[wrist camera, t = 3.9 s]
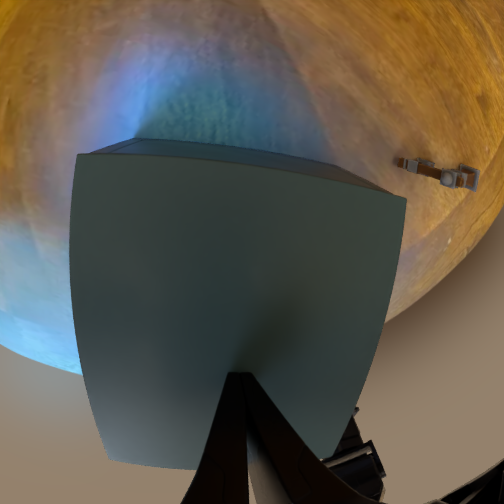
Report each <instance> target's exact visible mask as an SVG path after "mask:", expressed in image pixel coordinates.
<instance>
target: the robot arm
mask: <svg viewBox="0 0 504 504" xmlns="http://www.w3.org/2000/svg"><path fill="white" fill-rule="evenodd" d="M358 411H359V407H356V408H354V411H353V413H352V415H351V418H350V420H349V422H348V424H347V426H346V429H345V431H344V433H343V435H342V437H341V439H340V441H339V443H338V445H337V447H336V449H335V451H334V453H333V455H332V456H331V457H327V458H322V459H323V460H322V461H320V459H319V458H318V457H317V456H316V455H315V454H314V453H313V452H312V450H311V449H310V448H309V447H308V446H307V445H305V442H304V441H303V440H302V438H301V437H300V436H299V435H298V433H297V432H296V431H295V430H294V428H293V427H292V426H291V425H290V423H289V422H288V421H287V419H286V418H285V417H284V416H283V414H282V413H281V412H280V410H279V409H278V408H277V406H276V405H275V404H274V402H273V401H272V400H271V398H270V397H269V396H268V394H267V393H266V392H265V390H264V389H263V387H262V386H261V385H260V383H259V382H258V381H257V379H256V378H255V376H254V375H253V374H252V373H251V372H240V373H239V372H228V373H227V376H226V379H225V382H224V386H223V389H222V392H221V395H220V399H219V402H218V405H217V409H216V412H215V415H214V418H213V422H212V425H211V428H210V431H209V435H208V438H207V441H206V444H205V448H204V452H203V454H202V457H201V460H200V463H199V466H198V468H197V471H196V474H195V476H194V478H193V480H192V482H191V485H190V487H189V488H188V491H187V492H186V494H185V496H184V498H183V500H182V502H181V503H180V504H249V485H248V471H249V475H250V479H251V483H252V487H253V491H254V495H255V499H256V503H257V504H386V503H383V502H382V500H383V497H384V494H385V488H384V485H383V482H382V478H384V477H386V474H385V471H384V468H383V466H382V463H381V461H380V459H379V456H378V454H377V452H376V449H375V447H374V445H373V442H372V440H369V441H368V442H366V443H363V441H362V438H361V436H360V431H359V429H358V426H357V424H356V422H355V419H354V416H355V415H356V413H357V412H358ZM370 451H371V452H372V453H370V454H368V455H367V452H370ZM425 504H504V458H503V459H502V460H501V461H499V462H498V463H496V464H495V465H494V466H492V467H491V468H489V469H488V470H486V471H485V472H483V473H482V474H480V475H479V476H477V477H476V478H474V479H472V480H471V481H469V482H467V483H466V484H464V485H462V486H461V487H459V488H457V489H455V490H453V491H452V492H450V493H448V494H447V495H445V496H443V497H442V498H440V499H439V500H437V499H436V500H432V501H430V502H427V503H425Z"/></svg>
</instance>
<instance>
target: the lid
mask: <svg viewBox="0 0 504 504" xmlns="http://www.w3.org/2000/svg"><path fill="white" fill-rule="evenodd" d="M406 203H407V199H406V198H404V197H400V196H397V195H393V194H390V193H386V192H382V191H378V190H374V189H371V188H367V187H362V186H358V185H354V184H350V183H346V182H341V181H337V180H332V179H327V178H323V177H318V176H313V175H308V174H302V173H297V172H292V171H286V170H280V169H274V168H268V167H261V166H255V165H248V164H241V163H233V162H225V161H216V160H207V159H197V158H186V157H174V156H160V155H141V154H104V153H87V154H77V159H76V165H75V172H74V180H73V189H72V200H71V214H70V239H69V260H70V286H71V299H72V310H73V319H74V327H75V334H76V341H77V347H78V353H79V358H80V363H81V368H82V373H83V377H84V382H85V386H86V390H87V394H88V398H89V401H90V405H91V408H92V412H93V415H94V418H95V422H96V425H97V428H98V431H99V434H100V436H101V439H102V442H103V445H104V448H105V450H106V452H107V455H108V458H109V459H110V460H115V461H120V462H125V463H131V464H138V465H144V466H152V467H161V468H171V469H185V470H197V468H198V466H199V463H200V460H201V457H202V454H203V452H204V448H205V444H206V441H207V438H208V435H209V431H210V428H211V425H212V422H213V418H214V415H215V412H216V409H217V405H218V402H219V399H220V395H221V392H222V389H223V386H224V382H225V379H226V376H227V373H228V372H239V373H240V372H251V373H252V374H253V375H254V376H255V378H256V379H257V381H258V382H259V383H260V385H261V386H262V387H263V389H264V390H265V392H266V393H267V394H268V396H269V397H270V398H271V400H272V401H273V402H274V404H275V405H276V406H277V408H278V409H279V410H280V412H281V413H282V414H283V416H284V417H285V418H286V419H287V421H288V422H289V423H290V425H291V426H292V427H293V428H294V430H295V431H296V432H297V433H298V435H299V436H300V437H301V438H302V440H303V441H304V442H305V445H307V446H308V447H309V448H310V449H311V450H312V452H313V453H314V454H315V455H316V456H317V457H318V458H319V459H322V458H327V457H331V456H332V455H333V453H334V451H335V449H336V447H337V445H338V443H339V441H340V439H341V437H342V435H343V433H344V431H345V429H346V426H347V424H348V422H349V420H350V418H351V415H352V413H353V411H354V408H355V406H356V404H357V401H358V399H359V396H360V394H361V391H362V389H363V386H364V383H365V381H366V378H367V375H368V372H369V370H370V367H371V364H372V361H373V357H374V354H375V352H376V348H377V345H378V342H379V339H380V335H381V332H382V329H383V325H384V321H385V318H386V314H387V310H388V306H389V302H390V298H391V294H392V289H393V285H394V280H395V275H396V270H397V265H398V260H399V254H400V248H401V242H402V235H403V228H404V221H405V212H406Z"/></svg>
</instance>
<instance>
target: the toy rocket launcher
mask: <svg viewBox="0 0 504 504" xmlns="http://www.w3.org/2000/svg"><path fill="white" fill-rule="evenodd" d="M434 164H435V163H433V162H430V161H427V160H424V159H421V158H417V161H415V160H410V159H404V158H399V162H398V167H401V168H403V169H407V171H410V172H413V173H419V174H422V175H425V176H427V177H428V176H430V177H432V178H435V179H438V180H440V184H441V185H444V186H447V187H449V188H452V189H454V188H458V187H460V188H462V187H465V188H467V189H469V190H472V191H474V192H476V189H477V184H478V179H479V174H480V170H477V169H475V168H472V167H469V166H467V165H464V164H461V165H460V171H459V170H454V169H451V170H449V169H444V168H442V170H440V169H437V168H434Z"/></svg>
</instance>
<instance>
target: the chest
mask: <svg viewBox="0 0 504 504" xmlns="http://www.w3.org/2000/svg"><path fill="white" fill-rule="evenodd" d="M91 153H104V154H141V155H160V156H174V157H186V158H197V159H207V160H216V161H225V162H233V163H241V164H248V165H255V166H261V167H268V168H274V169H280V170H286V171H292V172H297V173H302V174H308V175H313V176H318V177H323V178H327V179H332V180H337V181H341V182H346V183H350V184H354V185H358V186H362V187H367V188H371V189H374V190H378V191H382V192H386V193H390V192H388V191H387V190H385V189H383V188H381V187H379V186H377V185H375V184H373V183H371V182H369V181H367V180H365V179H363V178H361V177H359V176H357V175H355V174H353V173H351V172H349V171H347V170H345V169H343V168H341V167H338V166H336V165H332V164H328V163H323V162H319V161H314V160H310V159H305V158H300V157H295V156H290V155H284V154H279V153H273V152H268V151H261V150H255V149H249V148H242V147H235V146H227V145H219V144H210V143H200V142H190V141H177V140H162V139H141V138H132V139H129V140H126V141H123V142H120V143H117V144H114V145H111V146H108V147H105V148H102V149H99V150H96V151H94V152H91ZM390 194H392V193H390Z"/></svg>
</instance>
